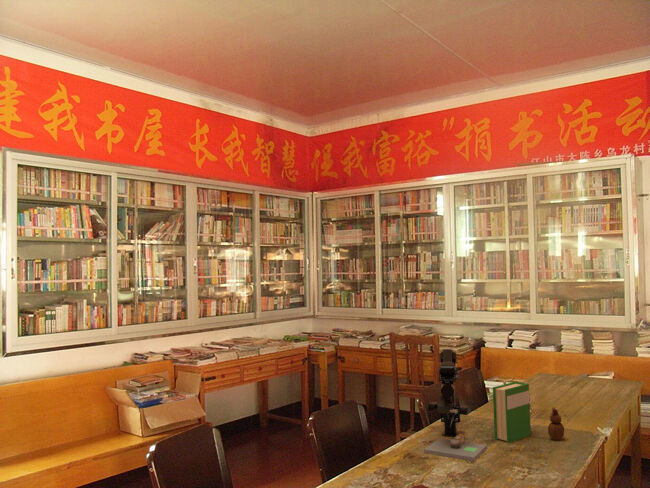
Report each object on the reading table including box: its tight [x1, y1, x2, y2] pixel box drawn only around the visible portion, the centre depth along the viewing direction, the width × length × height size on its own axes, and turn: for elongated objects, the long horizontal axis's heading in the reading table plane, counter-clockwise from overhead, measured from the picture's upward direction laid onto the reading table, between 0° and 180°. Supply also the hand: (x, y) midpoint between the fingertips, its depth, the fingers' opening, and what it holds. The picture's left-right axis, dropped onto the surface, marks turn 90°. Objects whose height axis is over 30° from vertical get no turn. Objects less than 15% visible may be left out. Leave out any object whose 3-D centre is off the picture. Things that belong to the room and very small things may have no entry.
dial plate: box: [423, 437, 488, 462], centre depth 244 cm, size 18×22×2 cm
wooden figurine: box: [547, 406, 565, 441], centre depth 256 cm, size 7×6×15 cm
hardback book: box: [492, 381, 532, 444], centre depth 261 cm, size 18×7×24 cm, turn 128°
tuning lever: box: [449, 430, 466, 448], centre depth 248 cm, size 12×4×4 cm, turn 148°
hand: (449, 427), depth 253 cm, fingers closed
